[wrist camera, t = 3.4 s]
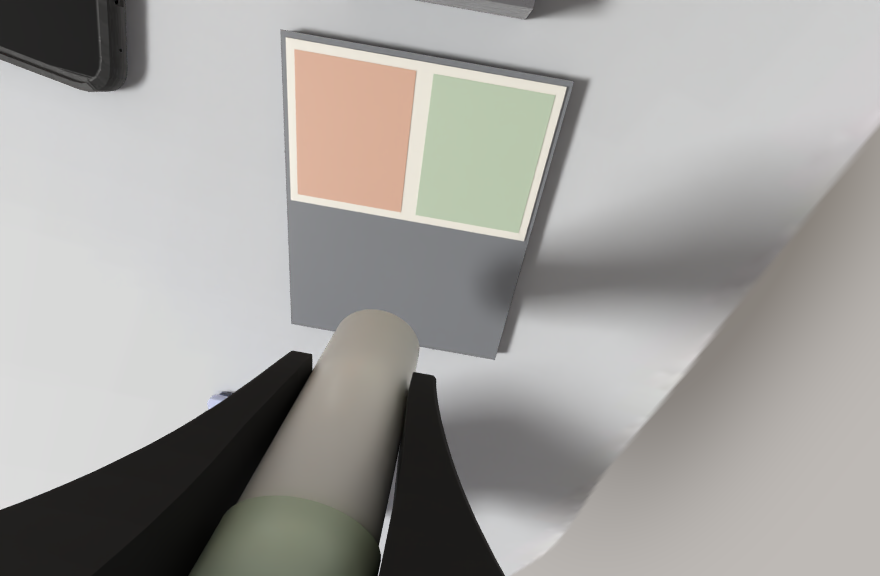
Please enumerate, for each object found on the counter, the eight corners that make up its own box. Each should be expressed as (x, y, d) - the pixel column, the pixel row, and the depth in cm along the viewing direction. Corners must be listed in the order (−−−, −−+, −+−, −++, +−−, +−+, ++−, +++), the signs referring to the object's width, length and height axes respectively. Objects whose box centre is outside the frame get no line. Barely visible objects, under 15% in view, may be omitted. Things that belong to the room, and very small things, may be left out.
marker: (416, 388, 14) (354, 705, 7) (331, 373, 14) (179, 674, 7) (428, 316, 13) (364, 625, 5) (332, 299, 13) (141, 585, 5)
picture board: (494, 353, 19) (495, 361, 18) (295, 318, 19) (290, 325, 18) (570, 81, 13) (574, 81, 13) (286, 31, 13) (279, 29, 13)
